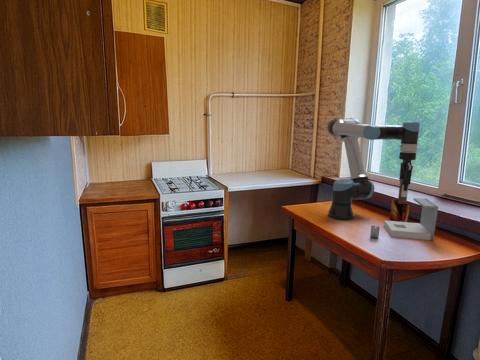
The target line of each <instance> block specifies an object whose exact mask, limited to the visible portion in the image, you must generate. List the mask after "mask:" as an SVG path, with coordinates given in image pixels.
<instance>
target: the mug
mask: <svg viewBox="0 0 480 360" xmlns="http://www.w3.org/2000/svg"><path fill="white" fill-rule="evenodd" d="M410 203H411V202H410ZM410 203H408V204H401V203H398V199H392V200H391V204H390V205H391V207H390V215H389V221H397V222H408V219H409V212H410Z"/></svg>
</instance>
